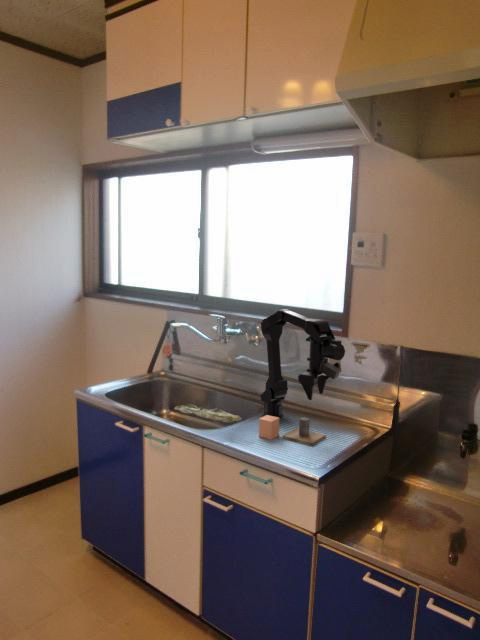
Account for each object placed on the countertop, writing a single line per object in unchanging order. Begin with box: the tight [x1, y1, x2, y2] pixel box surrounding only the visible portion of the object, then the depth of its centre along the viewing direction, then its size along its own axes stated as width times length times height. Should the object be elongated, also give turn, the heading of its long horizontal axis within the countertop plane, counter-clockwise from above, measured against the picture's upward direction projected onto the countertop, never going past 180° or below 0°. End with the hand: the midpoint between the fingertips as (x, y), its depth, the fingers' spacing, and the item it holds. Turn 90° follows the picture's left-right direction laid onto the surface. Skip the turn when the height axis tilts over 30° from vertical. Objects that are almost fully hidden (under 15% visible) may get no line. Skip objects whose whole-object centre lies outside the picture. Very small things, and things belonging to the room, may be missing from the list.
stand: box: [281, 416, 327, 447], centre depth 179 cm, size 12×10×7 cm
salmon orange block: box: [258, 415, 280, 440], centre depth 180 cm, size 5×5×7 cm
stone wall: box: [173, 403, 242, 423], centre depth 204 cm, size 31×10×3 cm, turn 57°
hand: (315, 396), depth 183 cm, fingers open, 9 cm apart
